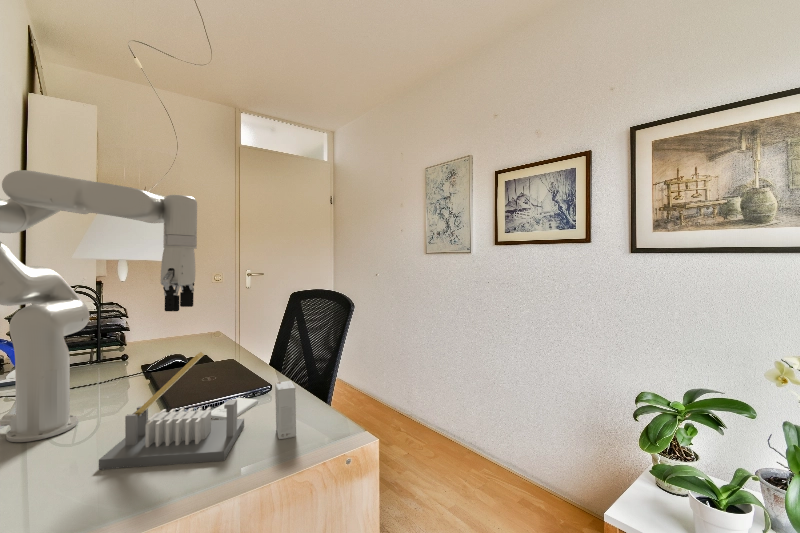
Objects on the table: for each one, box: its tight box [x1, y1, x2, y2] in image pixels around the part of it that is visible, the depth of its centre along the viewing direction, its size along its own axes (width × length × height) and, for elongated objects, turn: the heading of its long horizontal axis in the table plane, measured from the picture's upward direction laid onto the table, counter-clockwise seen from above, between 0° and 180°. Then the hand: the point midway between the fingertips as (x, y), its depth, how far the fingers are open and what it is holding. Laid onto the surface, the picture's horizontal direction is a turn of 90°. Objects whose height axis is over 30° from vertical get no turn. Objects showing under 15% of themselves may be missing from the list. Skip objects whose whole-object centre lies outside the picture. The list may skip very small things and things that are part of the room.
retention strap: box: [132, 351, 205, 419], centre depth 82 cm, size 20×3×2 cm
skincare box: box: [274, 380, 297, 440], centre depth 90 cm, size 6×4×12 cm
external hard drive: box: [211, 397, 259, 420], centre depth 103 cm, size 2×8×12 cm
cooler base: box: [98, 399, 245, 470], centre depth 83 cm, size 24×16×10 cm, turn 99°
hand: (179, 308), depth 95 cm, fingers open, 8 cm apart
